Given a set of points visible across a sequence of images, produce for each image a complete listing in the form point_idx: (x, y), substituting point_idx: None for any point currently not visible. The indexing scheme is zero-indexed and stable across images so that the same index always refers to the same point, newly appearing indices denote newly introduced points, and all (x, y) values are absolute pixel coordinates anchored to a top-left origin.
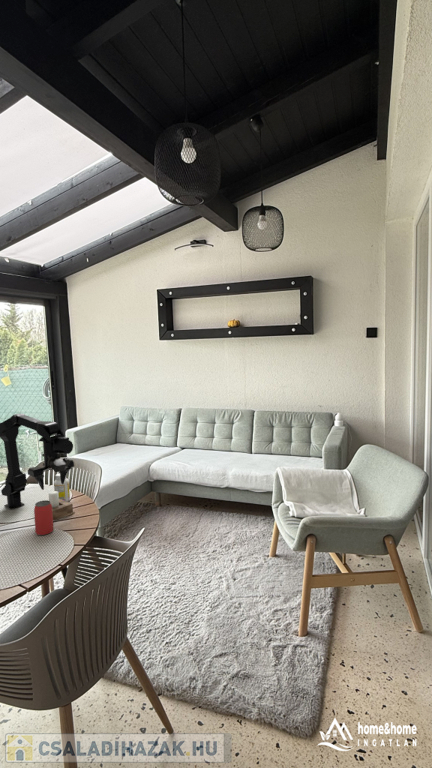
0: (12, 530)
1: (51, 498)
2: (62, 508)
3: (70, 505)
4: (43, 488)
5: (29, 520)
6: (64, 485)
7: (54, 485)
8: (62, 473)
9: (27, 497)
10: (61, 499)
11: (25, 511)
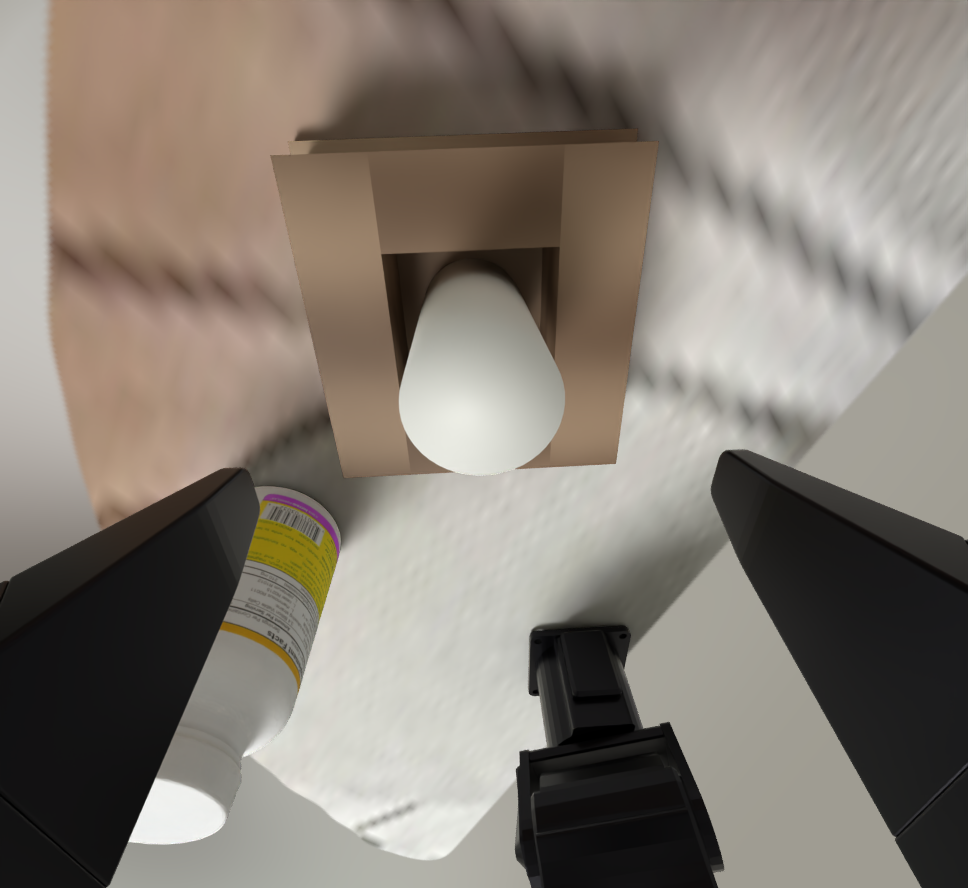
0: (921, 265)
1: (541, 336)
2: (444, 151)
3: (310, 155)
4: (752, 459)
5: (694, 357)
6: None
7: (301, 675)
8: (41, 750)
9: (450, 708)
10: (332, 428)
11: (591, 540)
